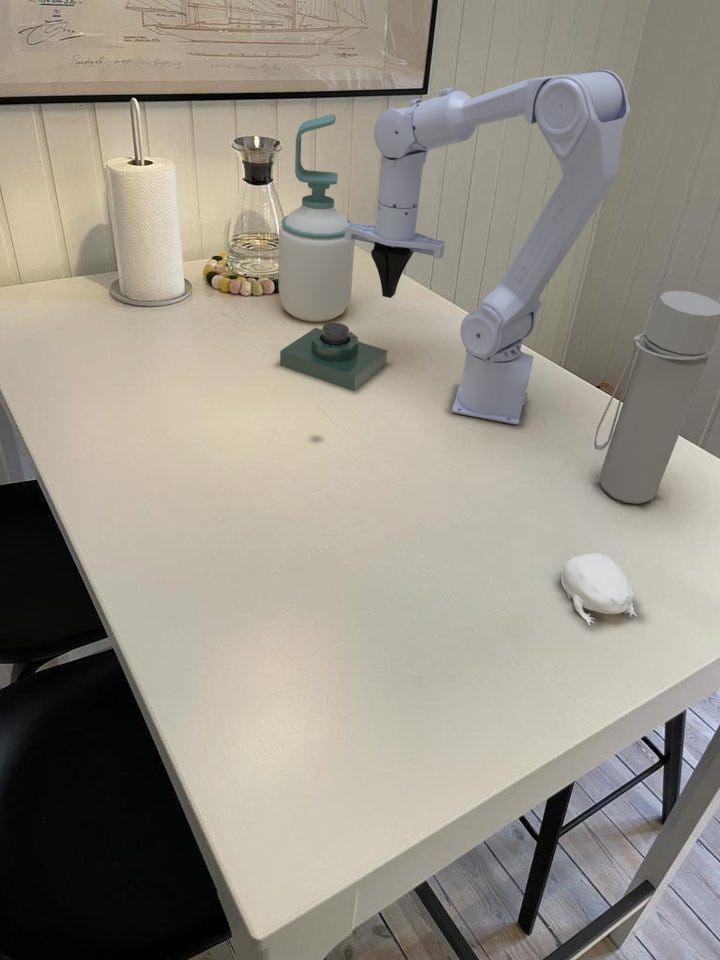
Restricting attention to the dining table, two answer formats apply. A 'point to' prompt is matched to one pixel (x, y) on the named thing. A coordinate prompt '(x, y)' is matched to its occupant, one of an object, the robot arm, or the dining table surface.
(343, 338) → the dark grey push button
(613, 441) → the water bottle
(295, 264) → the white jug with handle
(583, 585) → the chubby white toad
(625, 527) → the dining table surface
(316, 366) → the green push button box
